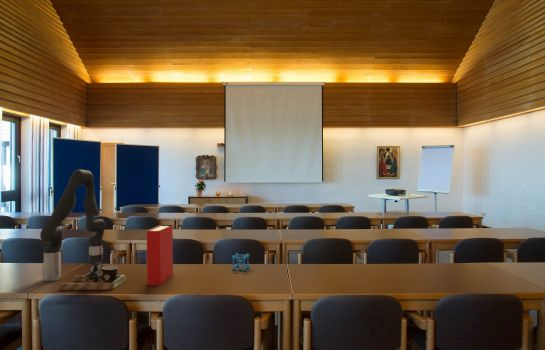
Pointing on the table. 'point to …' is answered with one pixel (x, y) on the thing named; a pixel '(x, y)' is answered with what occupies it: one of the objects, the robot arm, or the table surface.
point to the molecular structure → (240, 262)
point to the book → (159, 254)
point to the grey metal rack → (92, 286)
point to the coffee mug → (109, 274)
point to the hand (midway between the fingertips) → (96, 282)
